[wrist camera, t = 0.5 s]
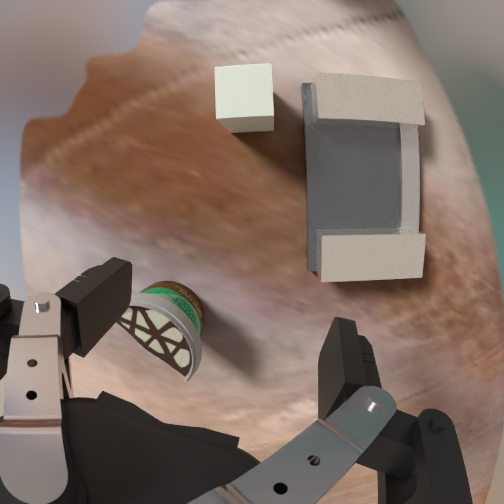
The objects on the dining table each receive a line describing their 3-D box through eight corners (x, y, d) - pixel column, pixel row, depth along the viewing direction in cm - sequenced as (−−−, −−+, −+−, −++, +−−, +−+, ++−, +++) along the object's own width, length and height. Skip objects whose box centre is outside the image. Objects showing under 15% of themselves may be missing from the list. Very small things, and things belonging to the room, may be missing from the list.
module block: (229, 93, 35) (214, 67, 25) (271, 90, 34) (271, 63, 25) (230, 132, 36) (216, 118, 26) (273, 130, 35) (273, 115, 26)
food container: (233, 313, 41) (221, 353, 31) (205, 342, 42) (188, 385, 33) (158, 252, 40) (125, 275, 30) (134, 285, 41) (99, 315, 31)
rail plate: (301, 86, 34) (305, 72, 29) (409, 93, 33) (428, 83, 28) (306, 267, 39) (311, 282, 34) (411, 264, 38) (429, 277, 33)
